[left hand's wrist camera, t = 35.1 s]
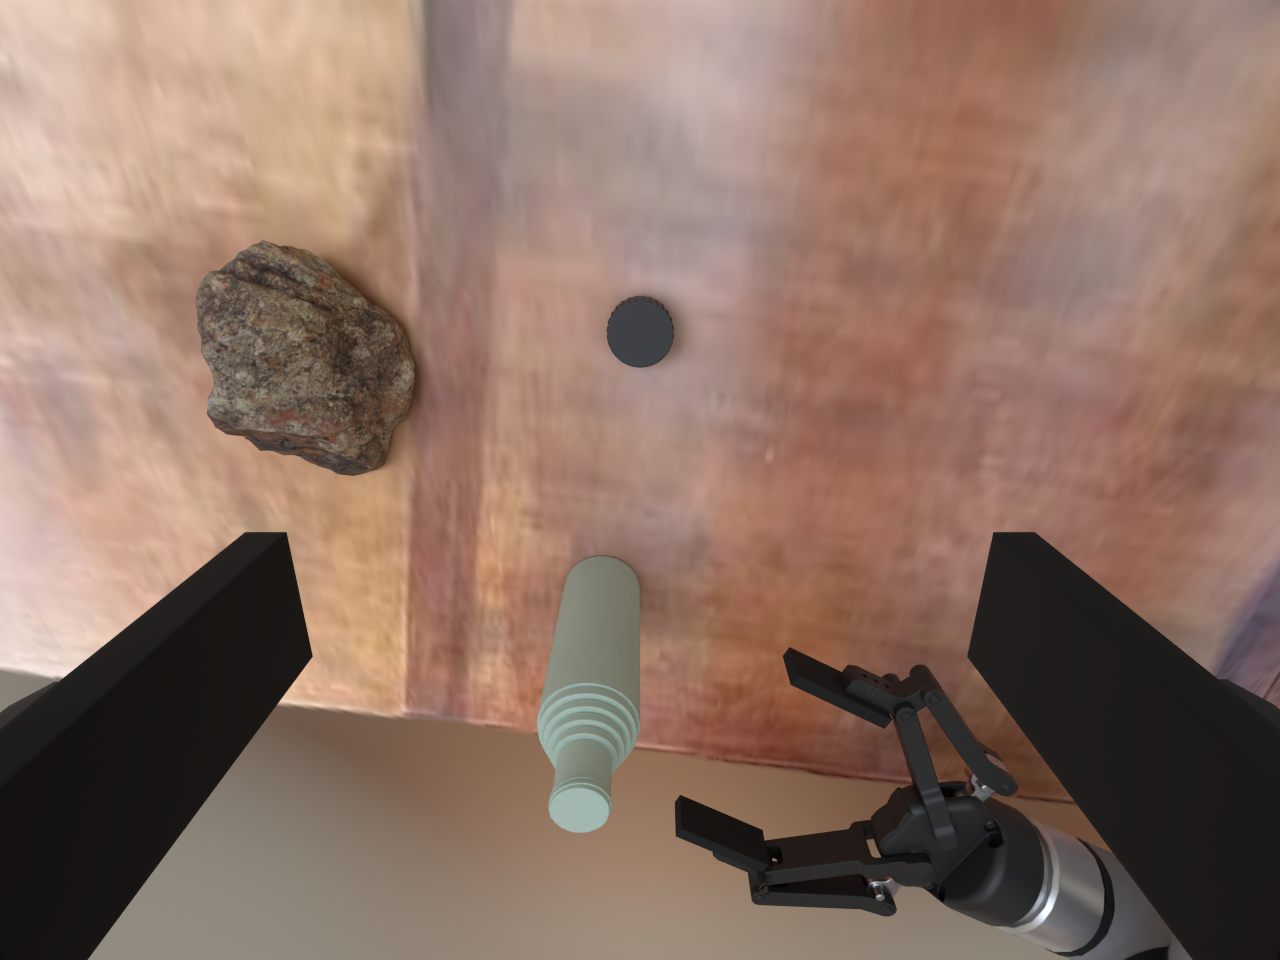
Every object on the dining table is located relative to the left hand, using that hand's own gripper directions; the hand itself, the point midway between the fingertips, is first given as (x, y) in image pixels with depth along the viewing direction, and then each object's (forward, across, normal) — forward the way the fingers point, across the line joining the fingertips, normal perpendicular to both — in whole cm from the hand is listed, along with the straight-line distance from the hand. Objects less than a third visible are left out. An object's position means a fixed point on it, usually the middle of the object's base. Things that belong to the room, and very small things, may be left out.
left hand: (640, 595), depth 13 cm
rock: (+33, -19, -2) cm, 38 cm away
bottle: (+33, -3, -19) cm, 38 cm away
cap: (+30, 0, 0) cm, 30 cm away
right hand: (+22, +6, -24) cm, 33 cm away
